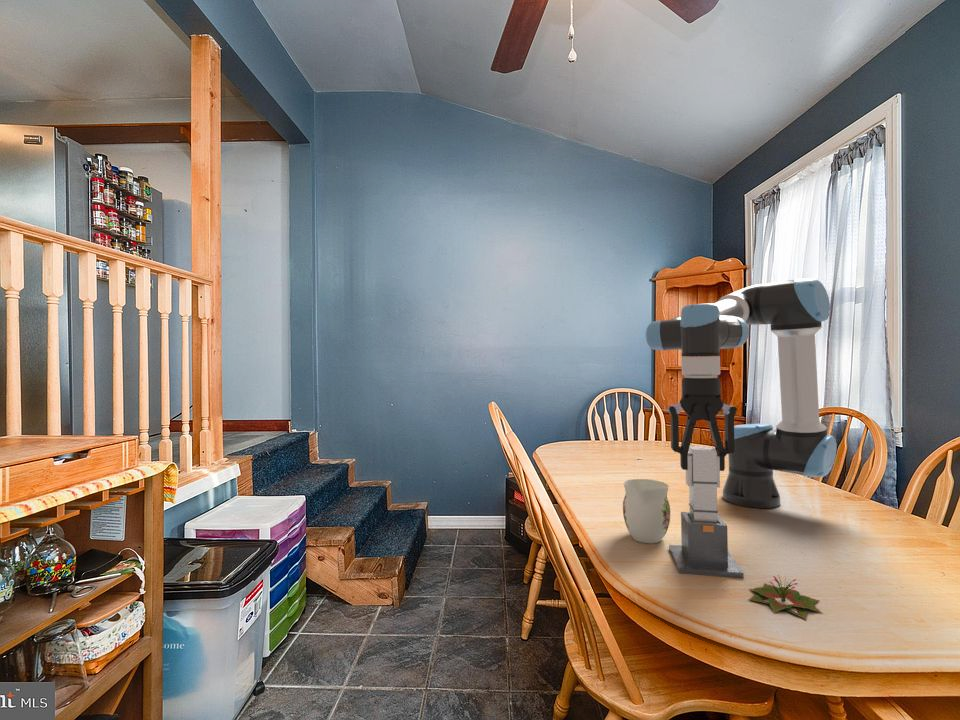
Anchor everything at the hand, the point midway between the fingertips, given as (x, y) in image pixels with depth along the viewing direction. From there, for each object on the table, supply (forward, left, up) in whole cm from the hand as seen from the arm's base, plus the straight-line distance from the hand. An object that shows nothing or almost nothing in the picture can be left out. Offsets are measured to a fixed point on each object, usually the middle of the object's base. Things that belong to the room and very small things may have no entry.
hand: (702, 484), depth 100 cm
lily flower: (-10, +14, -17) cm, 25 cm away
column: (0, 0, -10) cm, 10 cm away
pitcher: (+10, -13, -17) cm, 24 cm away
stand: (0, 0, -17) cm, 17 cm away
